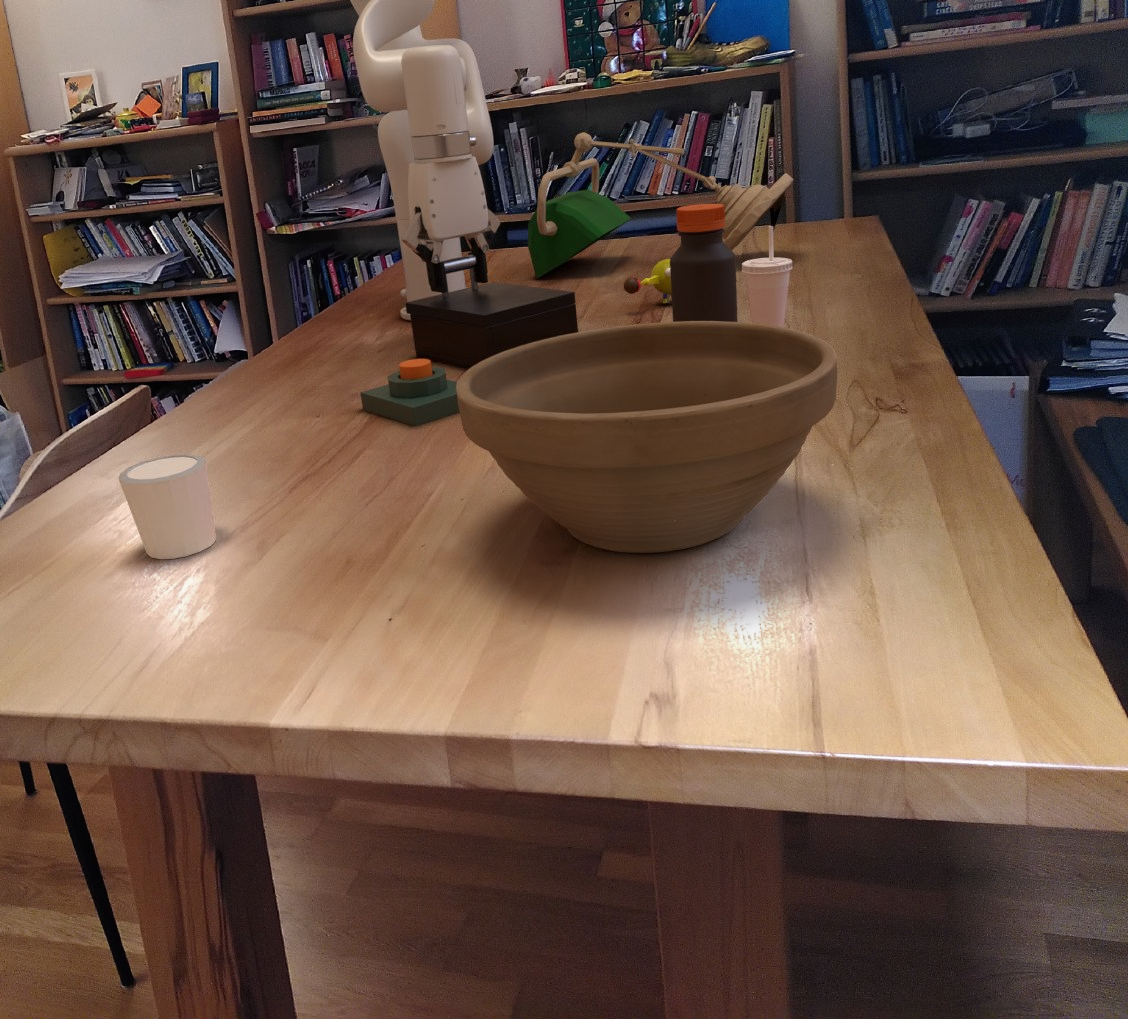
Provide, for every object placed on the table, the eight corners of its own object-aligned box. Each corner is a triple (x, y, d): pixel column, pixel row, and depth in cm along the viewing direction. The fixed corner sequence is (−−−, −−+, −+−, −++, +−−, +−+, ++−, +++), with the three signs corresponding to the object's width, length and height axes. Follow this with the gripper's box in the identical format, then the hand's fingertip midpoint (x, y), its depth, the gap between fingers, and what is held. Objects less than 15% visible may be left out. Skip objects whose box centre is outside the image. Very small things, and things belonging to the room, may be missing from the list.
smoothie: (793, 341, 132) (792, 228, 127) (742, 344, 134) (739, 232, 128) (793, 329, 138) (792, 221, 133) (744, 332, 139) (741, 224, 134)
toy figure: (642, 317, 154) (639, 270, 151) (616, 313, 158) (612, 268, 155) (722, 293, 164) (721, 249, 162) (696, 290, 168) (694, 248, 166)
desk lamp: (676, 342, 217) (537, 216, 215) (819, 183, 196) (666, 43, 195) (635, 390, 186) (473, 244, 185) (798, 208, 166) (617, 43, 165)
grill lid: (406, 313, 141) (399, 266, 139) (493, 292, 150) (488, 247, 148) (485, 327, 128) (479, 275, 126) (575, 303, 137) (571, 254, 135)
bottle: (700, 408, 110) (691, 213, 102) (665, 395, 115) (654, 209, 108) (752, 395, 112) (747, 203, 105) (715, 383, 118) (708, 200, 111)
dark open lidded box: (416, 357, 143) (409, 314, 141) (502, 334, 152) (497, 293, 149) (490, 374, 131) (485, 327, 129) (579, 348, 140) (575, 303, 137)
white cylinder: (152, 533, 91) (132, 458, 88) (231, 524, 91) (213, 448, 88) (128, 566, 84) (106, 486, 82) (213, 556, 85) (194, 476, 82)
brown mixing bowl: (433, 503, 91) (411, 356, 86) (713, 436, 101) (708, 301, 96) (560, 640, 67) (539, 446, 62) (915, 535, 76) (921, 359, 71)
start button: (395, 379, 119) (392, 364, 118) (421, 371, 121) (419, 357, 120) (412, 383, 116) (410, 368, 115) (439, 376, 118) (436, 361, 117)
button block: (363, 410, 121) (357, 377, 120) (427, 391, 126) (422, 359, 125) (415, 426, 113) (409, 391, 112) (481, 405, 118) (477, 371, 117)
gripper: (477, 142, 144) (493, 273, 151) (370, 156, 134) (391, 296, 141) (511, 141, 139) (525, 277, 145) (401, 156, 128) (422, 301, 135)
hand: (459, 285), depth 143 cm, fingers open, 6 cm apart
